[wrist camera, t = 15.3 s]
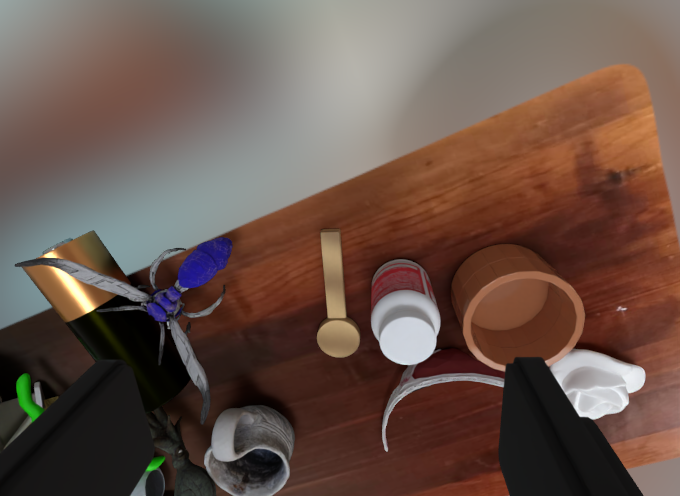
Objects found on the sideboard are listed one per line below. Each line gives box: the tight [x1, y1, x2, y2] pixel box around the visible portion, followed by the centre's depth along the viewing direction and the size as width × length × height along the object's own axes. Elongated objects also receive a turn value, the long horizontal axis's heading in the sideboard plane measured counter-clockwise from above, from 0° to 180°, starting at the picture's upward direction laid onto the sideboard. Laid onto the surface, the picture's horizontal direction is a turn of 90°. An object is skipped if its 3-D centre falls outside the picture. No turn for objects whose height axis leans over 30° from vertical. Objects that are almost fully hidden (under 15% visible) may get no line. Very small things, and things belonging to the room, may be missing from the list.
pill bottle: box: [371, 259, 440, 365], centre depth 39 cm, size 6×6×11 cm
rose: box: [550, 349, 645, 419], centre depth 44 cm, size 10×4×10 cm
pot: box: [451, 244, 585, 372], centre depth 40 cm, size 10×10×7 cm
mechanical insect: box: [15, 237, 233, 425], centre depth 39 cm, size 19×14×15 cm
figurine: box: [146, 406, 216, 496], centre depth 48 cm, size 14×6×18 cm
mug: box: [204, 405, 295, 496], centre depth 47 cm, size 10×12×10 cm
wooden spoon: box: [317, 229, 360, 357], centre depth 45 cm, size 15×5×1 cm, turn 4°
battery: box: [22, 231, 191, 413], centre depth 45 cm, size 7×7×20 cm
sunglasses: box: [382, 348, 505, 451], centre depth 48 cm, size 17×17×5 cm
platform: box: [0, 381, 58, 453], centre depth 52 cm, size 12×18×7 cm
